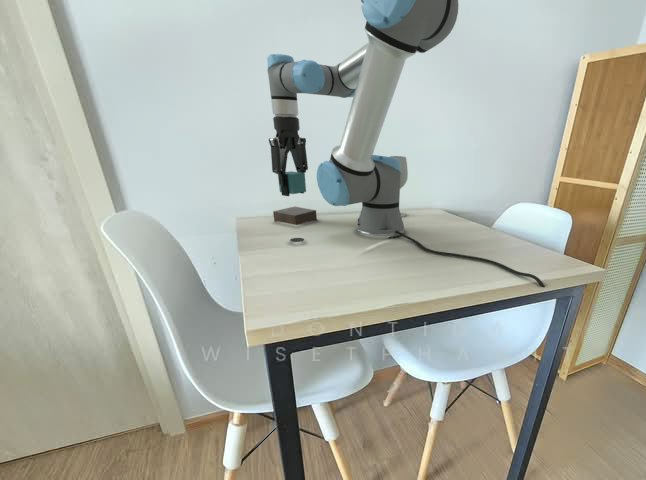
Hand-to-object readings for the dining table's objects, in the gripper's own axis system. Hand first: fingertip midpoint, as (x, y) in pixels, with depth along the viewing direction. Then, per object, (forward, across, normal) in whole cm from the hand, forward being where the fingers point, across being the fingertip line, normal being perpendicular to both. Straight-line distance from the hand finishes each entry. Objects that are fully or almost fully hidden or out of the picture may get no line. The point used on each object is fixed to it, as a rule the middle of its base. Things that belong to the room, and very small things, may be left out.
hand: (293, 194), depth 119 cm
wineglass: (+10, -31, +22) cm, 39 cm away
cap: (+9, +17, +17) cm, 26 cm away
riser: (+9, 0, 0) cm, 9 cm away
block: (-1, 0, 0) cm, 1 cm away
